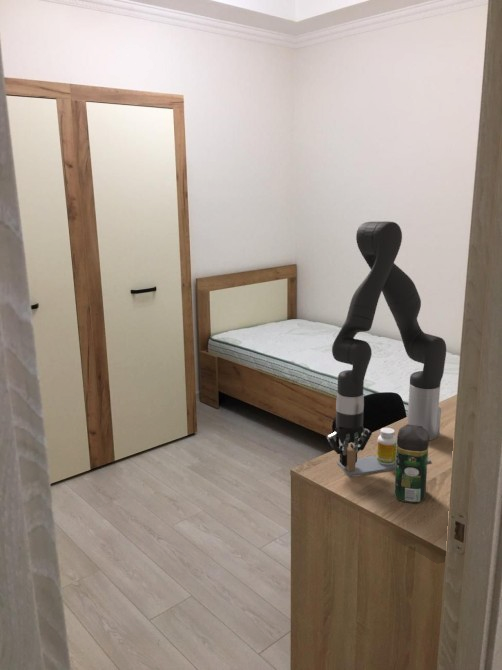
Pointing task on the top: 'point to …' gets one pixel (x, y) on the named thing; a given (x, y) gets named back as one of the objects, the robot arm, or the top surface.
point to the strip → (364, 464)
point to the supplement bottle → (386, 447)
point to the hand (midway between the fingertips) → (348, 464)
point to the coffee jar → (411, 463)
